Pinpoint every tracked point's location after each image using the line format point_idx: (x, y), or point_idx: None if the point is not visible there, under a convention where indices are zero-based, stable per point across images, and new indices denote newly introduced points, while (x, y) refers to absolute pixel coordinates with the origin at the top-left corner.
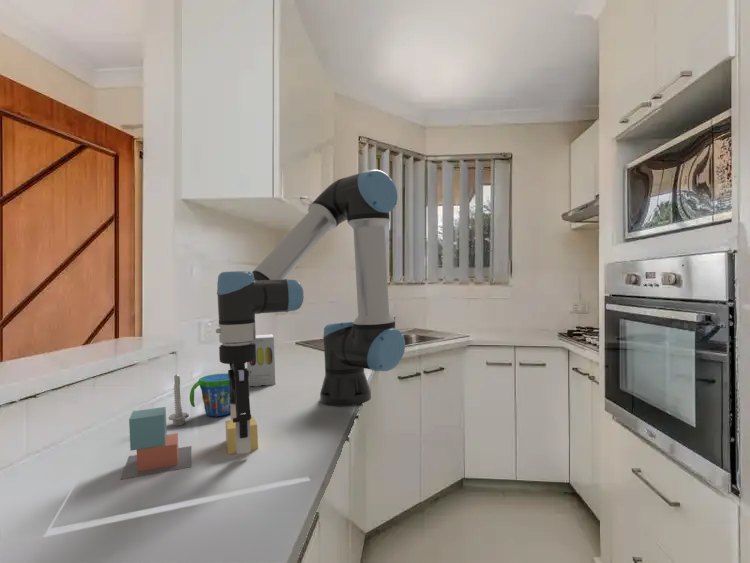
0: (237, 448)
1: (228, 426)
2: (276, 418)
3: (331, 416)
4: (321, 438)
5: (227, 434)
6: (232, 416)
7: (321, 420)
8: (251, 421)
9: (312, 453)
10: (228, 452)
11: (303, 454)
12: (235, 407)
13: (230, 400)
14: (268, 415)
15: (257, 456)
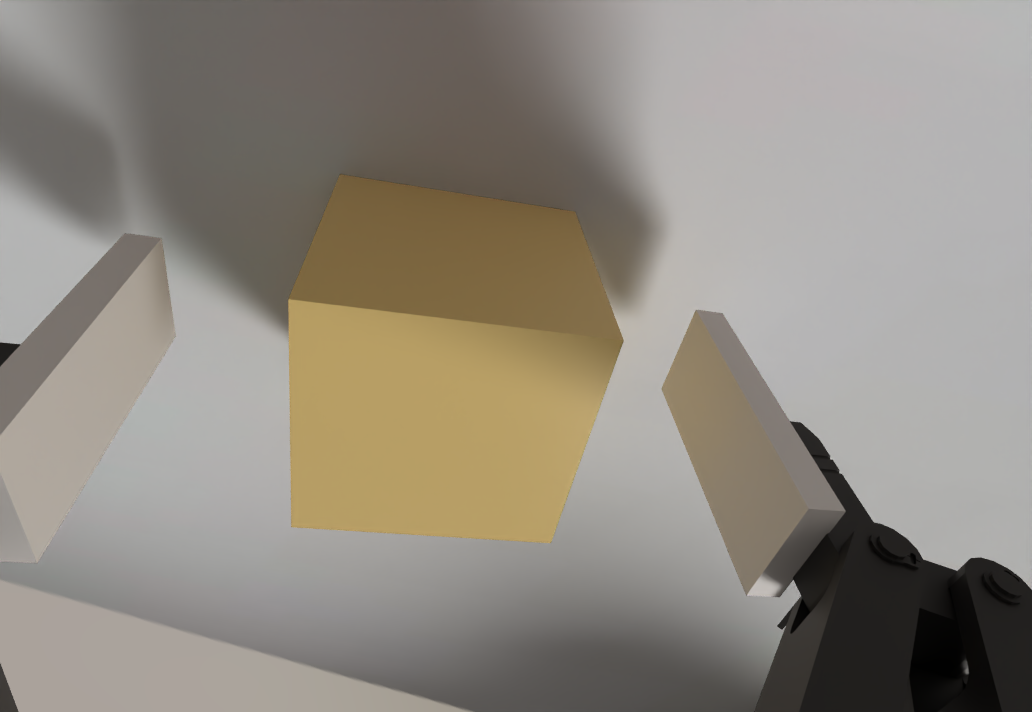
0: (104, 264)
1: (391, 328)
2: None
3: (631, 708)
4: (361, 630)
5: (316, 268)
6: (743, 419)
7: (614, 677)
8: (421, 511)
9: (159, 564)
10: (332, 192)
11: (164, 534)
12: (767, 514)
13: (881, 550)
14: (942, 544)
15: (255, 346)
